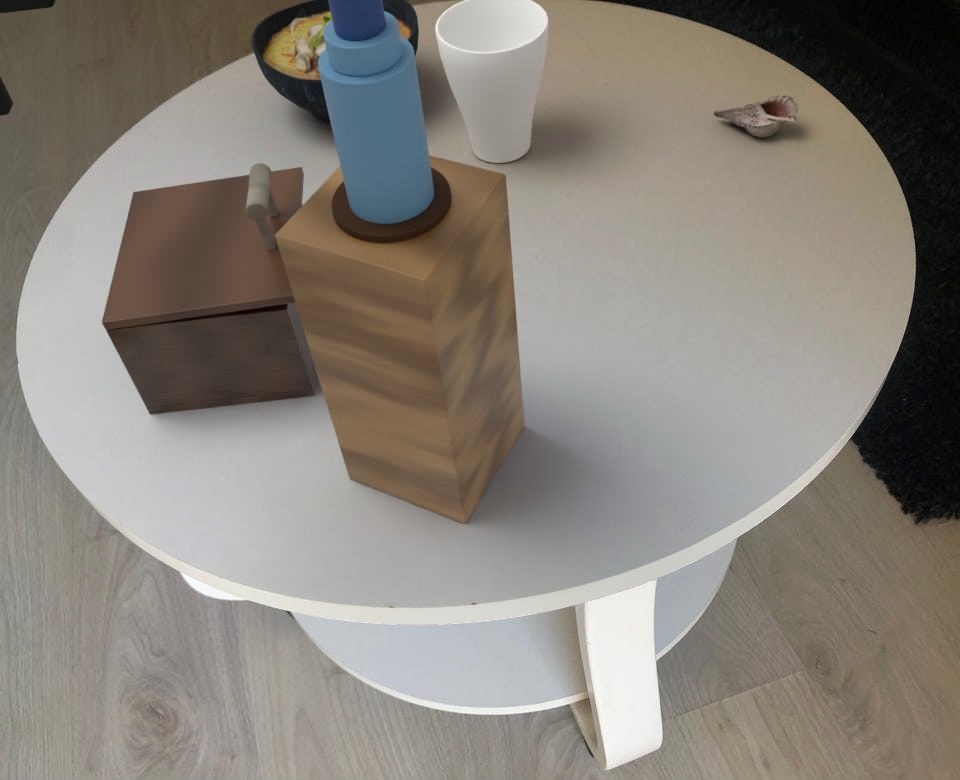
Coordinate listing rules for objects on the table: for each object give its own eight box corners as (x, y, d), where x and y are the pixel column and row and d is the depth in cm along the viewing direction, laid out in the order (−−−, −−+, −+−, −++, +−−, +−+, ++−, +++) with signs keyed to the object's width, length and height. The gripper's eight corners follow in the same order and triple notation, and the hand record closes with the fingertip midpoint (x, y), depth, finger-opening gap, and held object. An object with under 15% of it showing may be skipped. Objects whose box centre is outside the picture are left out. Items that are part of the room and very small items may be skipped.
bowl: (272, 73, 114) (250, -10, 106) (420, 52, 114) (408, -33, 107) (271, 161, 103) (246, 75, 95) (435, 137, 103) (423, 50, 96)
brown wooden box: (319, 267, 91) (296, 181, 84) (314, 395, 81) (287, 310, 74) (173, 284, 91) (136, 199, 84) (149, 414, 81) (105, 330, 74)
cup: (572, 153, 99) (570, 28, 89) (480, 190, 97) (467, 66, 87) (520, 104, 106) (512, -17, 96) (432, 138, 103) (415, 16, 93)
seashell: (787, 144, 100) (777, 156, 97) (716, 111, 102) (705, 121, 99) (807, 103, 97) (798, 114, 94) (734, 70, 99) (723, 80, 96)
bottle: (407, 233, 56) (369, 15, 46) (332, 212, 57) (280, -2, 47) (449, 181, 58) (422, -35, 48) (377, 162, 60) (336, -49, 50)
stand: (465, 524, 72) (424, 280, 54) (348, 478, 75) (274, 235, 57) (524, 425, 77) (506, 173, 59) (414, 387, 81) (364, 138, 63)
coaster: (414, 255, 55) (413, 249, 55) (309, 225, 57) (308, 218, 57) (472, 182, 59) (471, 175, 58) (372, 157, 61) (371, 150, 61)
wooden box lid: (304, 174, 83) (287, 119, 79) (296, 302, 73) (276, 247, 69) (136, 199, 84) (111, 146, 80) (105, 330, 74) (74, 277, 70)
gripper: (-218, -417, 41) (-26, -19, 54) (-439, -292, 30) (-129, 174, 43) (-39, -438, 41) (110, -35, 54) (-192, -322, 30) (44, 154, 43)
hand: (5, 57), depth 48 cm, fingers open, 9 cm apart
